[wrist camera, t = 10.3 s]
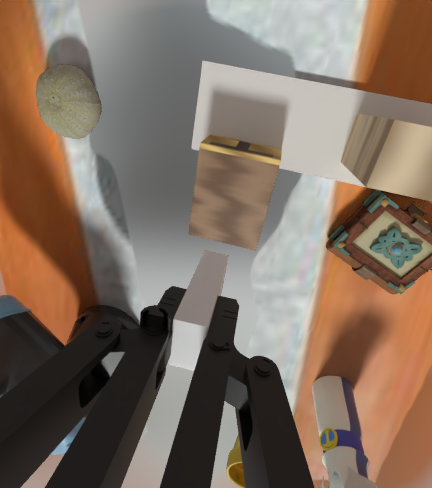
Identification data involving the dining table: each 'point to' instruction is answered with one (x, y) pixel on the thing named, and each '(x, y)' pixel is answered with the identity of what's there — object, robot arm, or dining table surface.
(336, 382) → the water bottle
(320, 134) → the felt mat
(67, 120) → the sea urchin shell
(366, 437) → the dining table surface
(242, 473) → the plant pot
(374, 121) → the oak block
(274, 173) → the walnut block
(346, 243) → the decorative book
